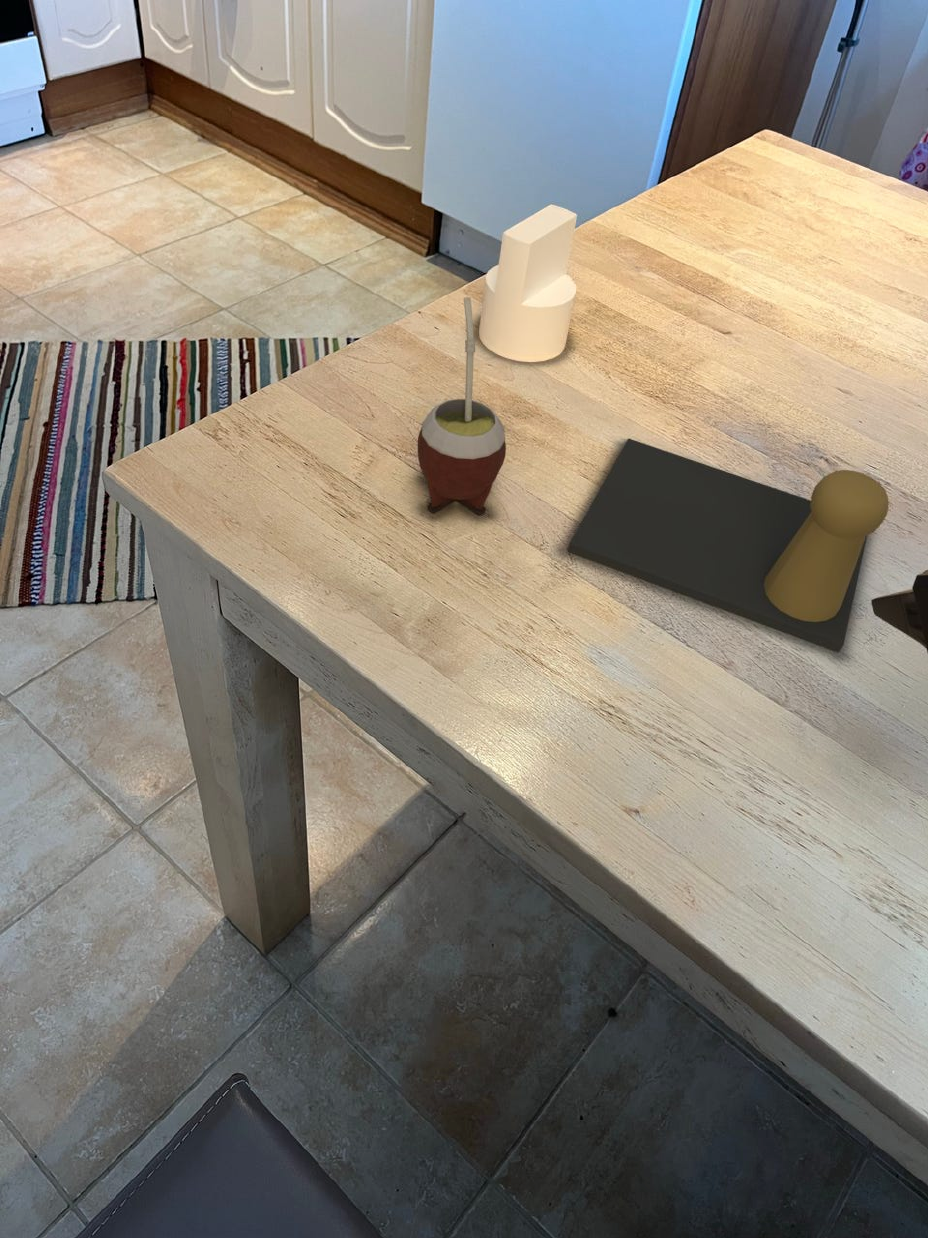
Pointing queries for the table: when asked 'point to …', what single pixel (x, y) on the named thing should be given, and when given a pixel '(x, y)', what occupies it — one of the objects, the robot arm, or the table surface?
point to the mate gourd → (461, 444)
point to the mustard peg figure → (827, 546)
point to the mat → (701, 536)
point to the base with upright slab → (531, 289)
